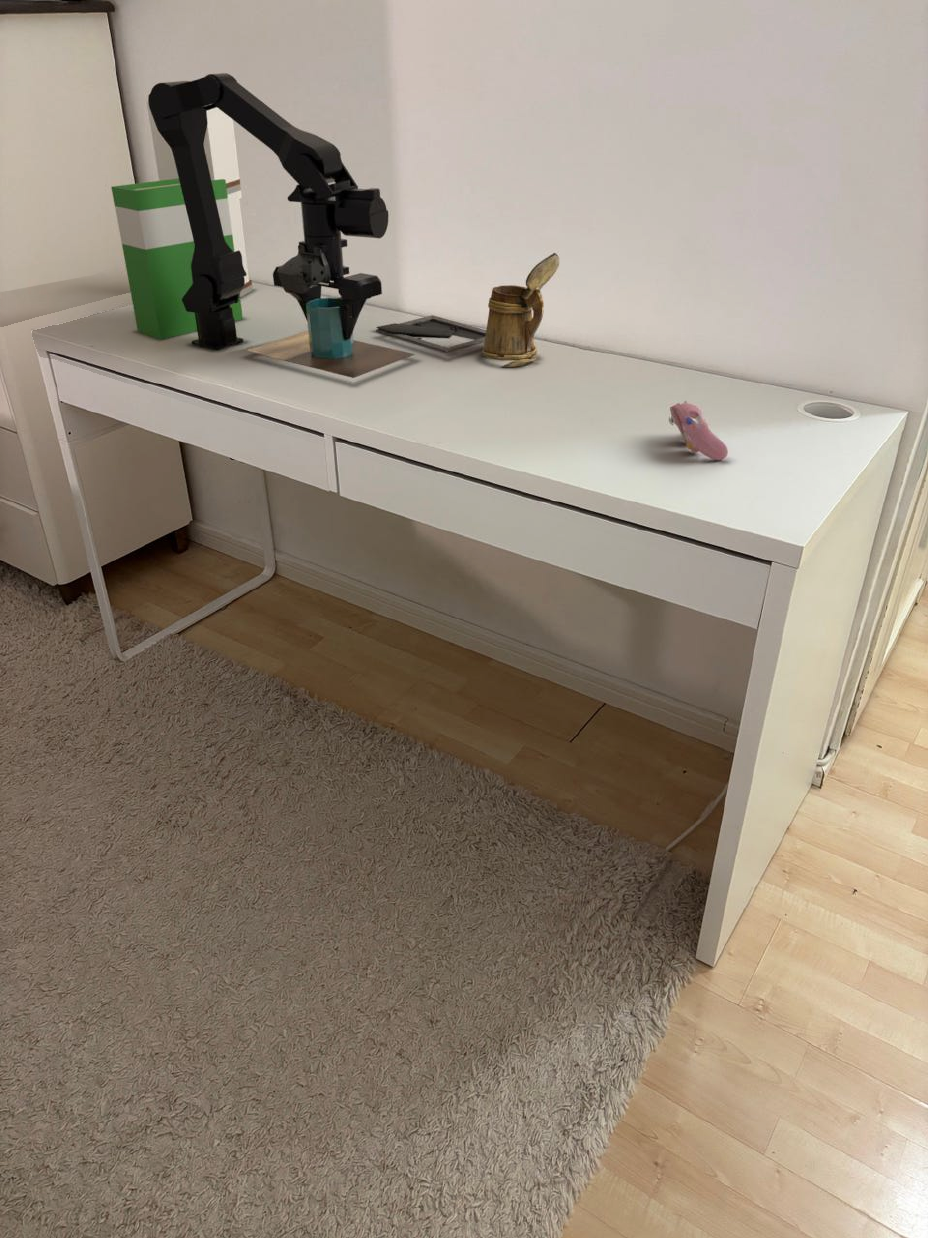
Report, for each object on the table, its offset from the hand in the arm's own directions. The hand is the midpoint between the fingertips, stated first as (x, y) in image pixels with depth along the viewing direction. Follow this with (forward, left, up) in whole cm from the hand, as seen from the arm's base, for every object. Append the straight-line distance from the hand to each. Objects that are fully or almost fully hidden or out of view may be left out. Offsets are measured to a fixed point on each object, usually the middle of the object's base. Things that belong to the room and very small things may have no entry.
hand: (330, 335), depth 154 cm
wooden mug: (+25, +17, -4) cm, 31 cm away
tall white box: (-49, +18, -4) cm, 53 cm away
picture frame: (+7, +19, -4) cm, 21 cm away
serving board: (0, 0, -4) cm, 4 cm away
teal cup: (0, 0, -3) cm, 3 cm away
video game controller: (+65, 0, -4) cm, 65 cm away
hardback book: (-35, 0, -4) cm, 36 cm away
